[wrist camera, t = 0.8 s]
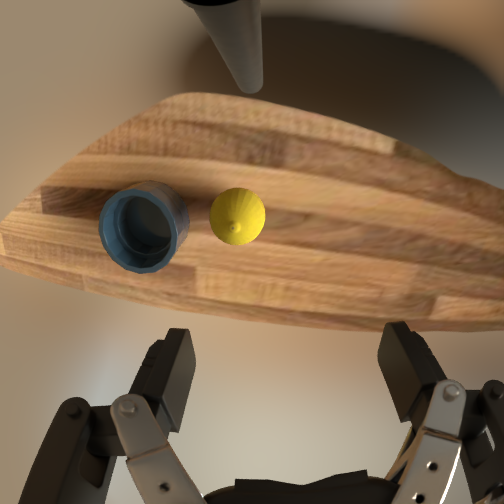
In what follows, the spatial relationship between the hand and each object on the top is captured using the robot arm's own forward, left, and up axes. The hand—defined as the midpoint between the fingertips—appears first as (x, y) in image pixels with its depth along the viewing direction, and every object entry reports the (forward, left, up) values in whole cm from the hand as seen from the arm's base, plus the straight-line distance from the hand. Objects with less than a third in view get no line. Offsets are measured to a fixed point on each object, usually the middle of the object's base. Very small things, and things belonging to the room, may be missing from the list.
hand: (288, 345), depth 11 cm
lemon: (+1, -4, -23) cm, 23 cm away
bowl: (+5, -14, -23) cm, 27 cm away
